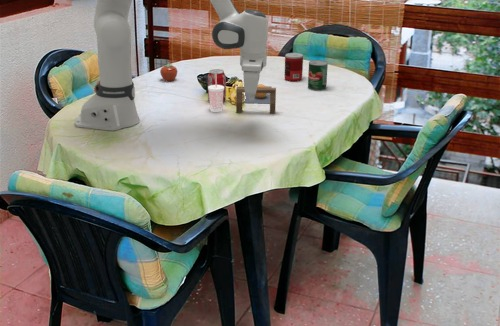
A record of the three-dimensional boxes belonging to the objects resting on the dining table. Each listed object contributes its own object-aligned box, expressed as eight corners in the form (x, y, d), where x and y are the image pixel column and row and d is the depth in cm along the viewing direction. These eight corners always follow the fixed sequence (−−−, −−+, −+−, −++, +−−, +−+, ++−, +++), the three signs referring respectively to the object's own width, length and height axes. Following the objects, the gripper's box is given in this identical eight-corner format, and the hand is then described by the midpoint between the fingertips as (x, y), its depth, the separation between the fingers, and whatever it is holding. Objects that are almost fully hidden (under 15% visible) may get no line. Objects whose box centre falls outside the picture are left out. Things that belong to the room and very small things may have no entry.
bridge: (275, 113, 231) (275, 90, 227) (236, 112, 232) (236, 88, 228) (275, 111, 234) (275, 87, 230) (236, 110, 234) (236, 86, 231)
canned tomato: (326, 85, 265) (327, 60, 260) (326, 91, 257) (328, 65, 253) (307, 85, 265) (309, 59, 261) (307, 90, 258) (308, 64, 254)
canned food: (305, 78, 274) (306, 54, 270) (296, 83, 268) (297, 58, 264) (290, 76, 278) (290, 51, 273) (281, 80, 272) (281, 55, 267)
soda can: (223, 104, 241) (223, 74, 236) (206, 103, 242) (205, 73, 237) (227, 98, 247) (227, 69, 242) (210, 97, 248) (210, 68, 243)
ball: (253, 94, 244) (254, 81, 245) (252, 99, 249) (254, 86, 251) (267, 95, 244) (268, 82, 245) (266, 100, 249) (267, 87, 251)
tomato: (164, 83, 266) (163, 65, 263) (158, 79, 272) (157, 61, 268) (180, 81, 269) (179, 63, 266) (173, 77, 275) (173, 59, 272)
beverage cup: (209, 113, 231) (208, 76, 225) (207, 107, 237) (206, 72, 231) (225, 112, 232) (225, 75, 226) (223, 107, 238) (222, 71, 232)
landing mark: (241, 103, 242) (241, 102, 242) (244, 93, 253) (244, 93, 253) (272, 104, 241) (272, 103, 241) (273, 94, 252) (273, 94, 252)
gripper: (246, 52, 217) (245, 90, 222) (241, 67, 198) (240, 108, 203) (264, 53, 216) (262, 91, 222) (261, 68, 198) (259, 109, 203)
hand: (251, 99), depth 212 cm, fingers closed
